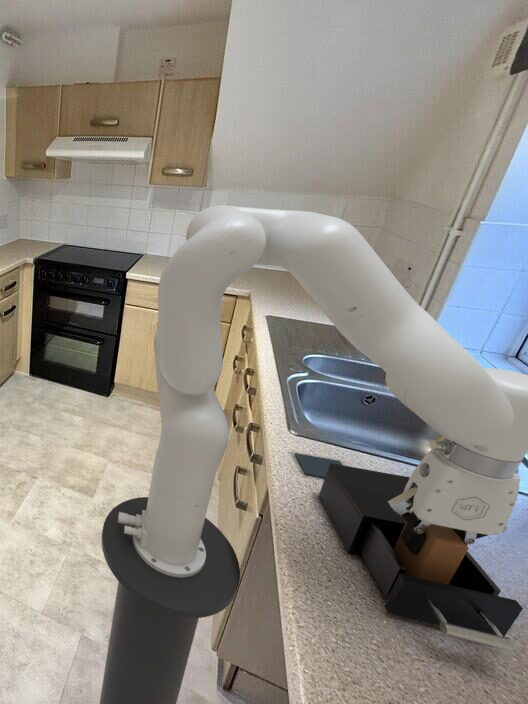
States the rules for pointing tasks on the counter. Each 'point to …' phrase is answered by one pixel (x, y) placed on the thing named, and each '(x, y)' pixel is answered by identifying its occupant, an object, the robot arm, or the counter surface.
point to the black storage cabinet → (360, 501)
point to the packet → (433, 555)
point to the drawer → (439, 592)
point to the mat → (315, 465)
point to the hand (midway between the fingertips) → (427, 550)
